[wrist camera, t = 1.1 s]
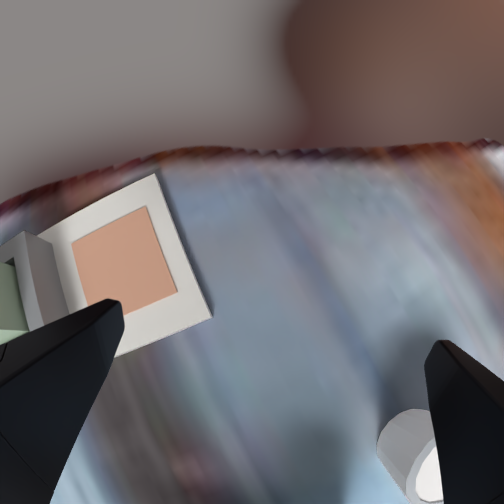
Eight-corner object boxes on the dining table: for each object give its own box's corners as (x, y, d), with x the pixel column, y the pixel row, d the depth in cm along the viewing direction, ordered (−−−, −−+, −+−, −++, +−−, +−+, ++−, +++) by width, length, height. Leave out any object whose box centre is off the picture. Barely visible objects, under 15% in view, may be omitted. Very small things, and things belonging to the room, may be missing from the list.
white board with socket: (213, 317, 22) (202, 315, 17) (20, 391, 20) (-15, 398, 15) (157, 178, 24) (139, 147, 20) (-10, 272, 23) (-44, 261, 18)
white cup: (378, 487, 19) (412, 526, 12) (360, 425, 20) (397, 457, 13) (445, 449, 19) (491, 473, 12) (432, 386, 21) (484, 400, 14)
